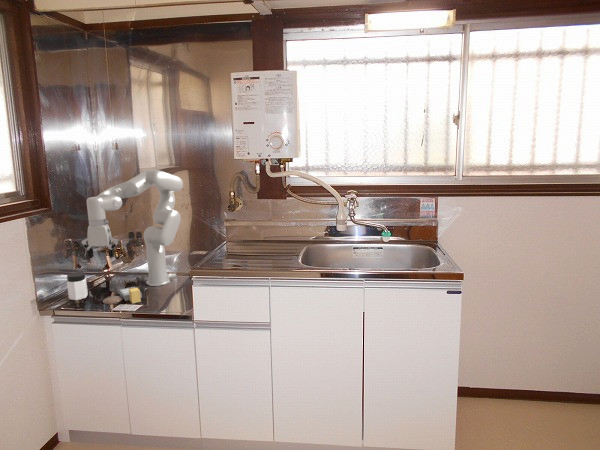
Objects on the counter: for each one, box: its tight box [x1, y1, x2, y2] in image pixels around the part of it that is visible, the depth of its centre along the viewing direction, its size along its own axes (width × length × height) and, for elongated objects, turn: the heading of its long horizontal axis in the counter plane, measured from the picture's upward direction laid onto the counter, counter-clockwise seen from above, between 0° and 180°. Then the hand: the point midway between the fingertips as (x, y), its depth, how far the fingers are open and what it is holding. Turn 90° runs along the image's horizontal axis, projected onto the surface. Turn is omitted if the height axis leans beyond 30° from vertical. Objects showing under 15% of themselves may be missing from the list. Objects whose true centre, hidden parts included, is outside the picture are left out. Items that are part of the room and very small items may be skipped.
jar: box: [66, 271, 89, 301], centre depth 224 cm, size 9×8×12 cm
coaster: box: [102, 295, 124, 305], centre depth 220 cm, size 9×9×1 cm
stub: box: [128, 286, 142, 304], centre depth 219 cm, size 4×5×6 cm
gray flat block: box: [118, 286, 143, 302], centre depth 226 cm, size 8×12×3 cm, turn 35°
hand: (101, 257), depth 216 cm, fingers open, 9 cm apart
